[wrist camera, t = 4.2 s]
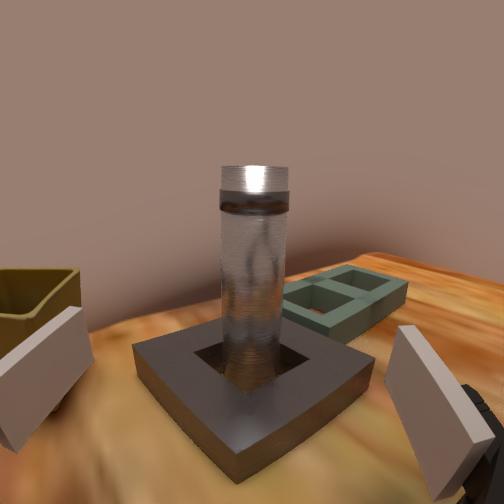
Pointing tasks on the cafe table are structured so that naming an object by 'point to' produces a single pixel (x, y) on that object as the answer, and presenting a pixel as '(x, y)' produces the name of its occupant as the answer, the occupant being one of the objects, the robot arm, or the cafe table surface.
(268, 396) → the socket block
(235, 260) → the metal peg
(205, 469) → the cafe table surface
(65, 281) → the flower pot
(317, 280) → the frame
